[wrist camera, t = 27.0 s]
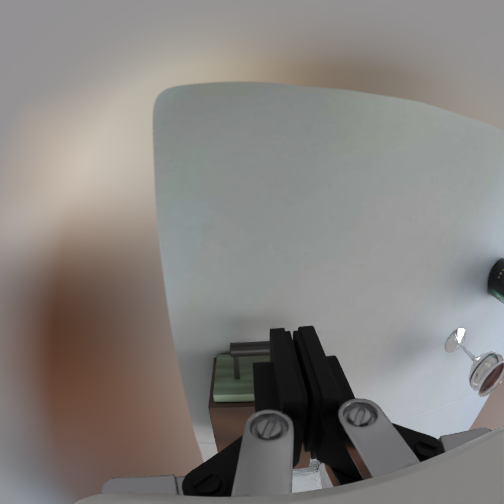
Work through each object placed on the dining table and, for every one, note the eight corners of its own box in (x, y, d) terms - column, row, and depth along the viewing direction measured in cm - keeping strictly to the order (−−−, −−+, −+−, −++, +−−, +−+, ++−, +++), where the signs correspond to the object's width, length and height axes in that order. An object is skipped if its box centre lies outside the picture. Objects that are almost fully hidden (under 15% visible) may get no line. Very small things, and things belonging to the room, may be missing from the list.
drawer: (213, 322, 35) (207, 360, 28) (305, 317, 36) (320, 354, 28) (226, 423, 41) (225, 460, 34) (297, 418, 41) (305, 455, 34)
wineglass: (474, 331, 40) (512, 367, 28) (451, 361, 41) (485, 400, 30) (459, 317, 38) (502, 355, 27) (435, 349, 40) (472, 392, 28)
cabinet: (213, 357, 38) (208, 407, 29) (306, 352, 38) (321, 400, 29) (224, 427, 43) (222, 472, 33) (299, 423, 43) (308, 467, 34)
